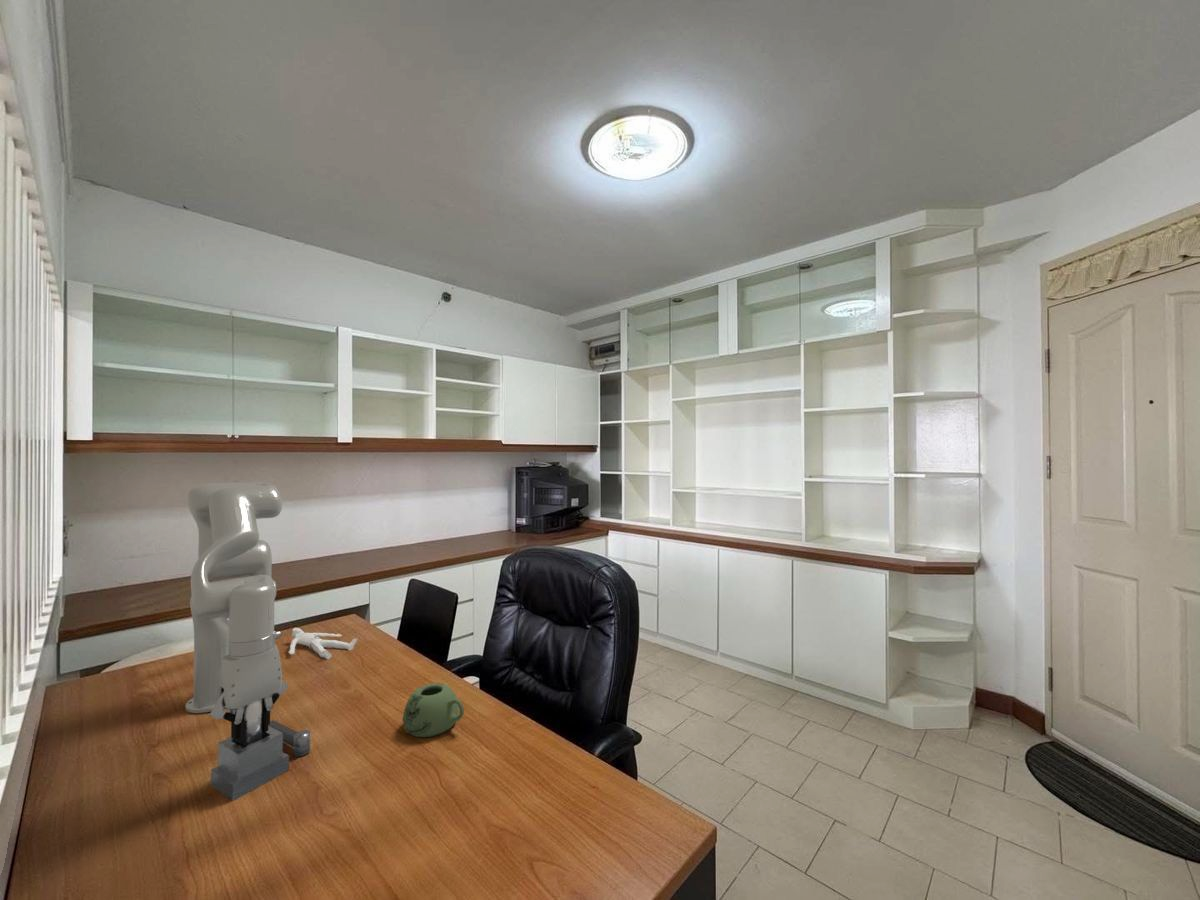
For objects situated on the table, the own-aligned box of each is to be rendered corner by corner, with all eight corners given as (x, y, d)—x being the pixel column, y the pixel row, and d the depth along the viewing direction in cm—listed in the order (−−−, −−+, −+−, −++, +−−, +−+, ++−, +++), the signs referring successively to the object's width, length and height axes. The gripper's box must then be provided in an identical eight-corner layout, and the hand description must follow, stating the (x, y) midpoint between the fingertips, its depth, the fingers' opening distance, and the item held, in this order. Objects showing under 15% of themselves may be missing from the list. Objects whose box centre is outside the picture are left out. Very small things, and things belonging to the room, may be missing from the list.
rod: (236, 750, 95) (237, 695, 95) (256, 740, 98) (257, 687, 98) (245, 755, 93) (245, 699, 93) (265, 745, 96) (266, 692, 96)
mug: (390, 734, 110) (390, 697, 110) (429, 707, 122) (429, 673, 122) (444, 749, 104) (444, 710, 104) (480, 719, 116) (480, 684, 116)
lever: (260, 737, 109) (260, 719, 109) (274, 730, 111) (274, 713, 111) (298, 758, 101) (298, 739, 101) (312, 750, 103) (313, 732, 104)
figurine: (312, 671, 148) (265, 648, 158) (363, 650, 165) (318, 629, 175) (314, 654, 148) (266, 632, 158) (365, 634, 165) (319, 615, 175)
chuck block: (210, 785, 93) (211, 744, 93) (266, 757, 102) (266, 720, 102) (232, 800, 89) (233, 758, 89) (288, 770, 97) (289, 731, 97)
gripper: (285, 628, 105) (284, 711, 104) (193, 656, 90) (192, 752, 90) (304, 634, 101) (303, 720, 101) (211, 664, 87) (210, 764, 86)
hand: (251, 734), depth 95 cm, fingers closed on rod, 3 cm apart
